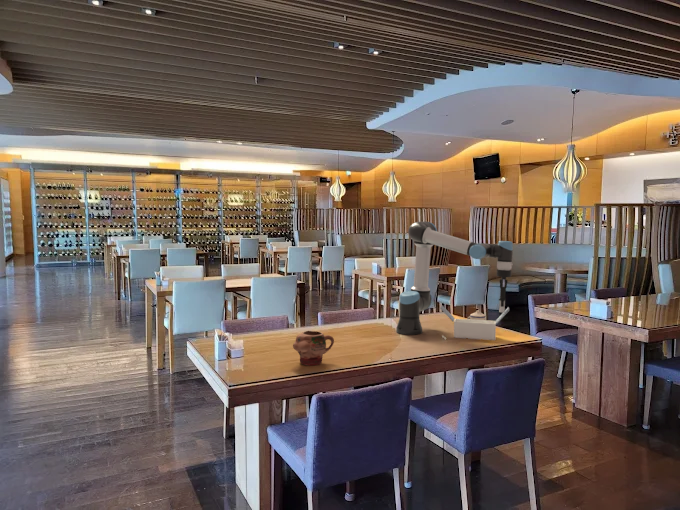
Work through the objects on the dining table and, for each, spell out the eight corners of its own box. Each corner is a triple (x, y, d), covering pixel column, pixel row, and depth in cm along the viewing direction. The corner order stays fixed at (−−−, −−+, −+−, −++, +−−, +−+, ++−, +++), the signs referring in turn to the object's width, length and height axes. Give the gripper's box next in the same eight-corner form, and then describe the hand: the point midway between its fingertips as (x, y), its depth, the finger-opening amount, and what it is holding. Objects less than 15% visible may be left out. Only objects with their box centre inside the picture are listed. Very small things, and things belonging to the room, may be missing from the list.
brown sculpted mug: (326, 356, 230) (326, 327, 230) (339, 362, 220) (339, 332, 219) (288, 362, 220) (288, 332, 219) (300, 369, 210) (300, 337, 209)
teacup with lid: (488, 330, 285) (489, 310, 284) (479, 332, 280) (479, 312, 279) (472, 326, 295) (472, 308, 294) (462, 328, 289) (462, 309, 289)
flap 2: (495, 320, 268) (496, 321, 268) (496, 323, 260) (496, 324, 259) (508, 306, 266) (508, 307, 265) (508, 309, 257) (509, 310, 257)
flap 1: (453, 321, 266) (453, 321, 266) (454, 318, 275) (454, 318, 275) (440, 307, 268) (440, 308, 268) (442, 305, 276) (441, 305, 276)
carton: (453, 337, 267) (454, 321, 266) (455, 334, 275) (455, 318, 275) (495, 340, 260) (495, 324, 260) (495, 336, 269) (495, 320, 268)
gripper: (512, 270, 253) (509, 314, 255) (511, 268, 266) (508, 310, 267) (497, 270, 256) (494, 313, 257) (496, 267, 268) (494, 309, 270)
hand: (501, 312), depth 262 cm, fingers closed
